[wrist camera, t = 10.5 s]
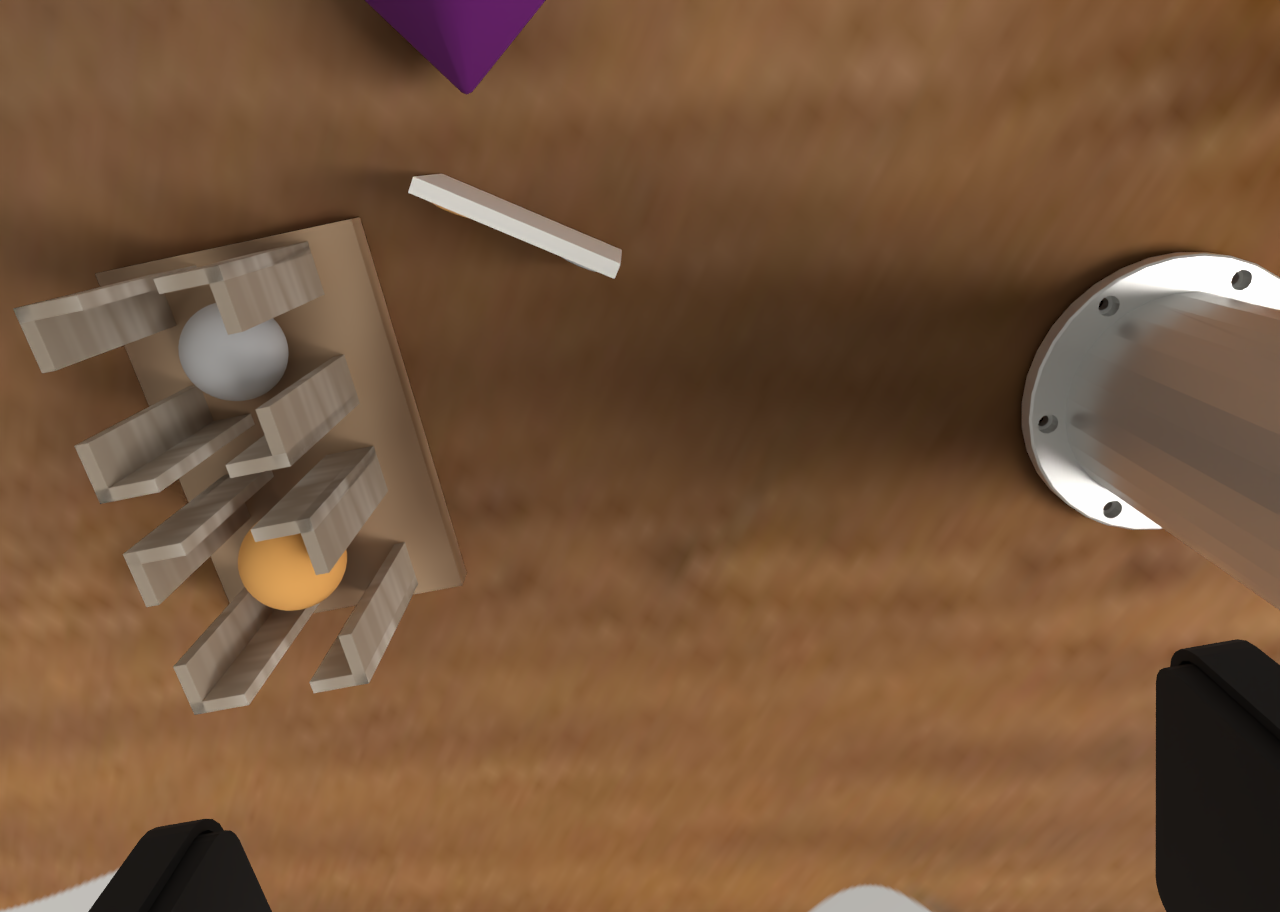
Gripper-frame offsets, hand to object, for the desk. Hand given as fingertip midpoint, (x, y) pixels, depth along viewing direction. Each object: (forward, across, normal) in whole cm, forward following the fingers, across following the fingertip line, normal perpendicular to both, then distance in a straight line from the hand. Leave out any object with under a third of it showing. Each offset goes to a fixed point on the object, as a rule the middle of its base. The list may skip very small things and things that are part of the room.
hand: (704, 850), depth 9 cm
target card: (+30, +4, -5) cm, 31 cm away
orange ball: (+24, +17, +7) cm, 30 cm away
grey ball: (+29, +16, -2) cm, 34 cm away
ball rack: (+30, +16, +2) cm, 35 cm away
